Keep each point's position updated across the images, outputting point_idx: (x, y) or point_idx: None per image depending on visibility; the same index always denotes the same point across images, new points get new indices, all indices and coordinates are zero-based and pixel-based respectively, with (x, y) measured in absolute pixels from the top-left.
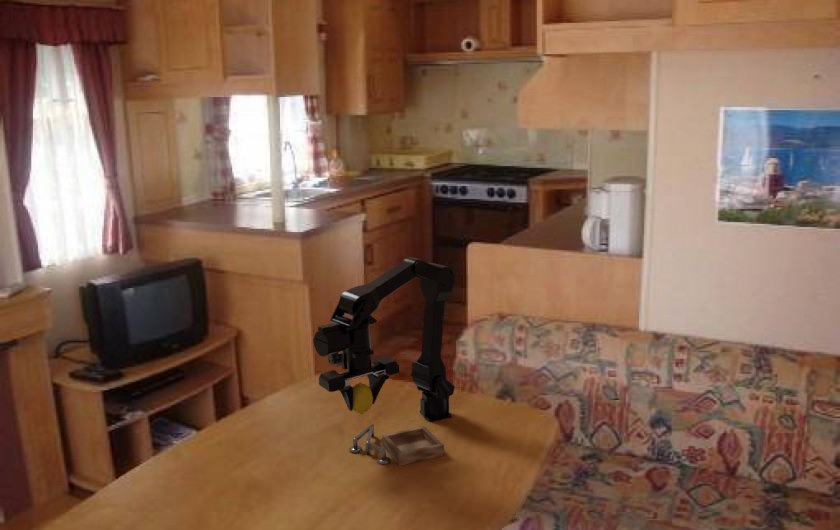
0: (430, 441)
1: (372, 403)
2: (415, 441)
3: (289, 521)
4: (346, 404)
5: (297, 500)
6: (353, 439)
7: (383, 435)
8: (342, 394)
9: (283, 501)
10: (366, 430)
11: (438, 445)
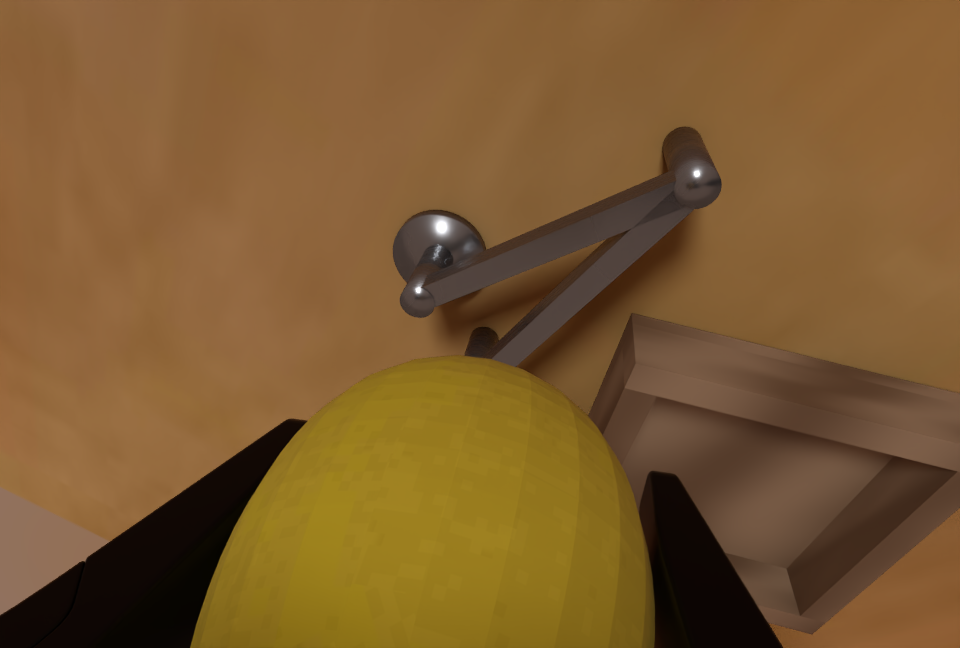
0: (851, 524)
1: (640, 519)
2: (815, 439)
3: (25, 496)
4: (220, 465)
5: (49, 432)
6: (401, 302)
7: (640, 374)
8: (14, 635)
9: None
10: (576, 249)
11: (786, 621)
